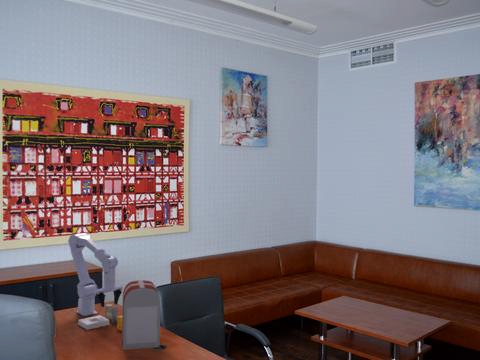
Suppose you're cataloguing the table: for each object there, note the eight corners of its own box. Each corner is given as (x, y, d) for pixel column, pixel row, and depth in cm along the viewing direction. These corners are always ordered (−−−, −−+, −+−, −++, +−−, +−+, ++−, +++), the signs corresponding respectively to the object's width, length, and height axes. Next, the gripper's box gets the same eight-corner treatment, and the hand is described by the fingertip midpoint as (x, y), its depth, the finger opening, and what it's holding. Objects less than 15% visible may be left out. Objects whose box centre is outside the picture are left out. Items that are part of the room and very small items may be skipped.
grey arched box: (122, 349, 210) (123, 289, 210) (121, 336, 227) (122, 280, 227) (160, 347, 215) (161, 287, 214) (156, 333, 232) (157, 278, 231)
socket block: (78, 324, 242) (78, 319, 242) (100, 320, 250) (100, 315, 250) (86, 329, 235) (87, 324, 235) (109, 324, 243) (109, 320, 243)
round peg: (110, 322, 247) (110, 308, 247) (115, 320, 250) (116, 307, 249) (113, 323, 245) (113, 310, 245) (118, 322, 247) (119, 309, 247)
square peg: (104, 318, 254) (104, 305, 254) (110, 316, 256) (110, 304, 256) (107, 319, 252) (107, 306, 251) (113, 318, 254) (113, 305, 254)
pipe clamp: (142, 331, 235) (142, 318, 235) (136, 333, 232) (136, 320, 231) (122, 327, 241) (123, 314, 240) (117, 329, 237) (117, 316, 237)
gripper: (100, 283, 245) (100, 309, 246) (125, 279, 255) (125, 304, 256) (94, 280, 251) (93, 306, 251) (119, 277, 260) (118, 301, 261)
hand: (109, 305), depth 254 cm, fingers open, 7 cm apart
